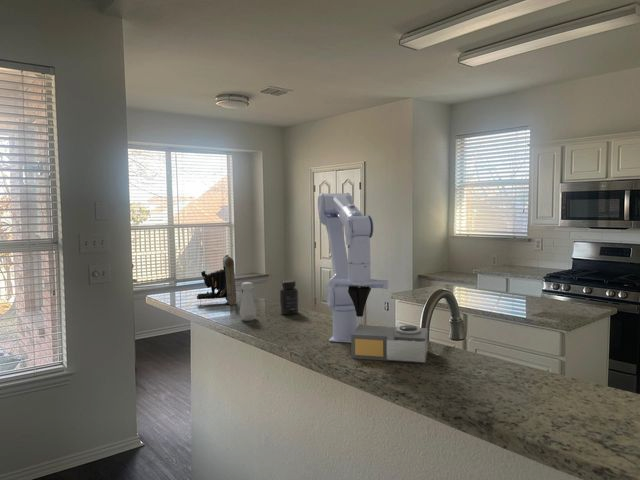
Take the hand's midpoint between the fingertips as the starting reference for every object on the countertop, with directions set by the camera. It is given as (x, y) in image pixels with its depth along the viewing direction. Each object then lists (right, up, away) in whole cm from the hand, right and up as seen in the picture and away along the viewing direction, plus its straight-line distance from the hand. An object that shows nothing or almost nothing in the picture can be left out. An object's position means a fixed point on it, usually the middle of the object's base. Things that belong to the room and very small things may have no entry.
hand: (360, 315), depth 119 cm
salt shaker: (-35, -9, +43) cm, 56 cm away
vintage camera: (-53, -7, +72) cm, 90 cm away
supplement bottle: (-21, -8, +52) cm, 56 cm away
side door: (+10, -9, -8) cm, 16 cm away
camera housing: (+8, -10, -1) cm, 12 cm away
